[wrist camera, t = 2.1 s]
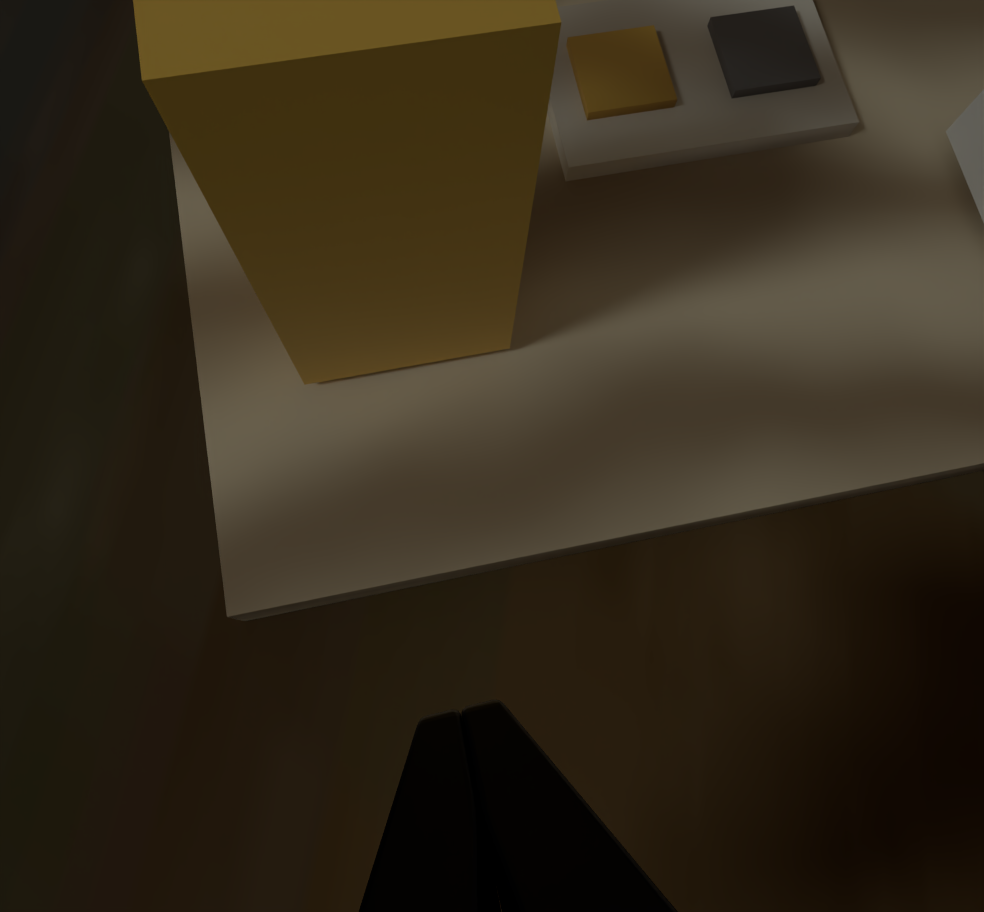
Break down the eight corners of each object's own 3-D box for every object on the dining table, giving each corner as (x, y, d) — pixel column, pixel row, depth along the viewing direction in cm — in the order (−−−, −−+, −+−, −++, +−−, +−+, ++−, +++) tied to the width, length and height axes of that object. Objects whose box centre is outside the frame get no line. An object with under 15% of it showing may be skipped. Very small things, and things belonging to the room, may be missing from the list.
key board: (1273, 411, 22) (1479, 345, 17) (244, 621, 19) (181, 605, 15) (1050, -48, 26) (1171, -195, 21) (176, 73, 23) (110, -66, 19)
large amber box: (509, 348, 19) (561, 22, 10) (304, 384, 19) (141, 80, 9) (477, 205, 20) (494, -219, 11) (281, 237, 20) (113, -178, 10)
